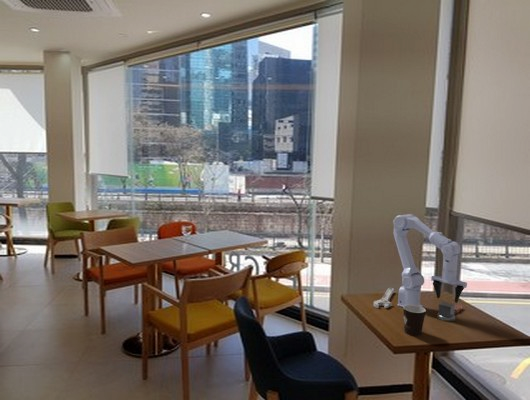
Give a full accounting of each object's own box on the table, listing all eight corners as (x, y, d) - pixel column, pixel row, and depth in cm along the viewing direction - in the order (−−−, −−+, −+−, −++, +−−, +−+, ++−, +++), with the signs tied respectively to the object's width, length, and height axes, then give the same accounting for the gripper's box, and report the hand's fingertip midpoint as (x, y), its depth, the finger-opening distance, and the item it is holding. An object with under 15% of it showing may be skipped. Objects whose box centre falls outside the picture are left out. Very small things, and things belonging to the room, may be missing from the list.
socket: (438, 315, 184) (439, 304, 183) (442, 312, 188) (443, 301, 187) (450, 318, 181) (450, 307, 180) (453, 315, 184) (454, 304, 184)
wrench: (399, 289, 219) (389, 306, 192) (399, 292, 219) (389, 310, 192) (383, 286, 222) (372, 303, 195) (383, 289, 222) (372, 307, 195)
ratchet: (434, 318, 184) (435, 308, 184) (451, 306, 200) (452, 296, 200) (451, 323, 179) (452, 312, 179) (467, 310, 195) (468, 300, 195)
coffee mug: (424, 338, 163) (426, 314, 162) (401, 334, 166) (402, 310, 165) (423, 327, 174) (425, 304, 173) (402, 324, 177) (403, 301, 176)
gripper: (429, 268, 184) (427, 297, 185) (464, 275, 174) (461, 306, 176) (435, 265, 189) (433, 294, 191) (469, 271, 179) (466, 302, 181)
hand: (447, 299), depth 184 cm, fingers open, 7 cm apart
